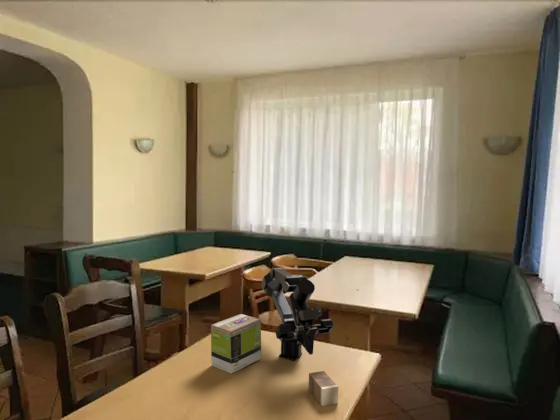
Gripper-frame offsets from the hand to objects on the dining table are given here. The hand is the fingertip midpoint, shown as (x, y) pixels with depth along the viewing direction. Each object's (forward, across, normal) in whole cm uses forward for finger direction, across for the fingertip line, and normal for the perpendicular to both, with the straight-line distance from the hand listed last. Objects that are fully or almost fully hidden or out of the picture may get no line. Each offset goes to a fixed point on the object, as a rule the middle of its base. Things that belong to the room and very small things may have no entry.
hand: (311, 354), depth 135 cm
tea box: (-7, -20, +20) cm, 29 cm away
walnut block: (+8, 0, +1) cm, 8 cm away
